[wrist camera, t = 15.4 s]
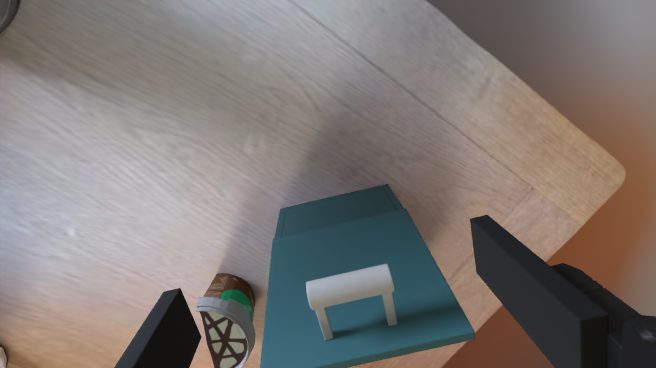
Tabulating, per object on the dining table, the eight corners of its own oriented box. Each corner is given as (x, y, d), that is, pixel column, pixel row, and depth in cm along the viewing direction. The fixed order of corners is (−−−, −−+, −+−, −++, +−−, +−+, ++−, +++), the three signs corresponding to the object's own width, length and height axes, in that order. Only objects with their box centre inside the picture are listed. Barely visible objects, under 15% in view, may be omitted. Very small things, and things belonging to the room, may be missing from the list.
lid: (475, 339, 26) (472, 273, 23) (261, 387, 26) (233, 327, 23) (406, 214, 41) (399, 166, 39) (274, 244, 42) (258, 199, 39)
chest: (405, 282, 56) (425, 325, 47) (308, 304, 57) (308, 351, 47) (387, 183, 51) (405, 209, 42) (280, 208, 51) (274, 240, 42)
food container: (268, 327, 58) (260, 378, 48) (230, 332, 58) (214, 384, 48) (255, 260, 54) (244, 301, 44) (214, 265, 54) (194, 307, 44)
